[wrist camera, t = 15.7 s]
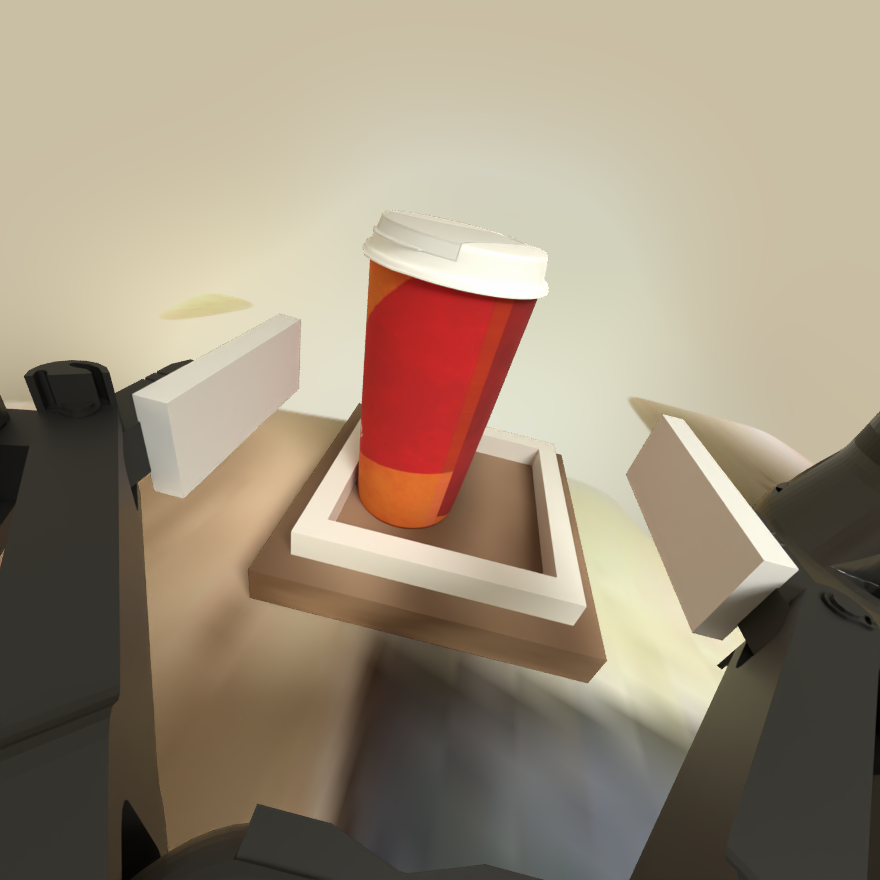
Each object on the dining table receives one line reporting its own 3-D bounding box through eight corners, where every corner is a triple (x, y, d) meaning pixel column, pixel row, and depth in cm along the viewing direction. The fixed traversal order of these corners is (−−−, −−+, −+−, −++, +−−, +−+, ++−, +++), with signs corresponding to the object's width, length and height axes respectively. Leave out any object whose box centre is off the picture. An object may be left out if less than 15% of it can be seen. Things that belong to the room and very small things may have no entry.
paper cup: (424, 444, 28) (477, 221, 20) (496, 518, 23) (599, 266, 16) (314, 469, 24) (329, 195, 16) (376, 568, 19) (440, 247, 11)
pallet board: (551, 474, 32) (568, 439, 30) (587, 683, 19) (622, 642, 17) (356, 424, 32) (361, 385, 30) (250, 597, 18) (246, 546, 17)
